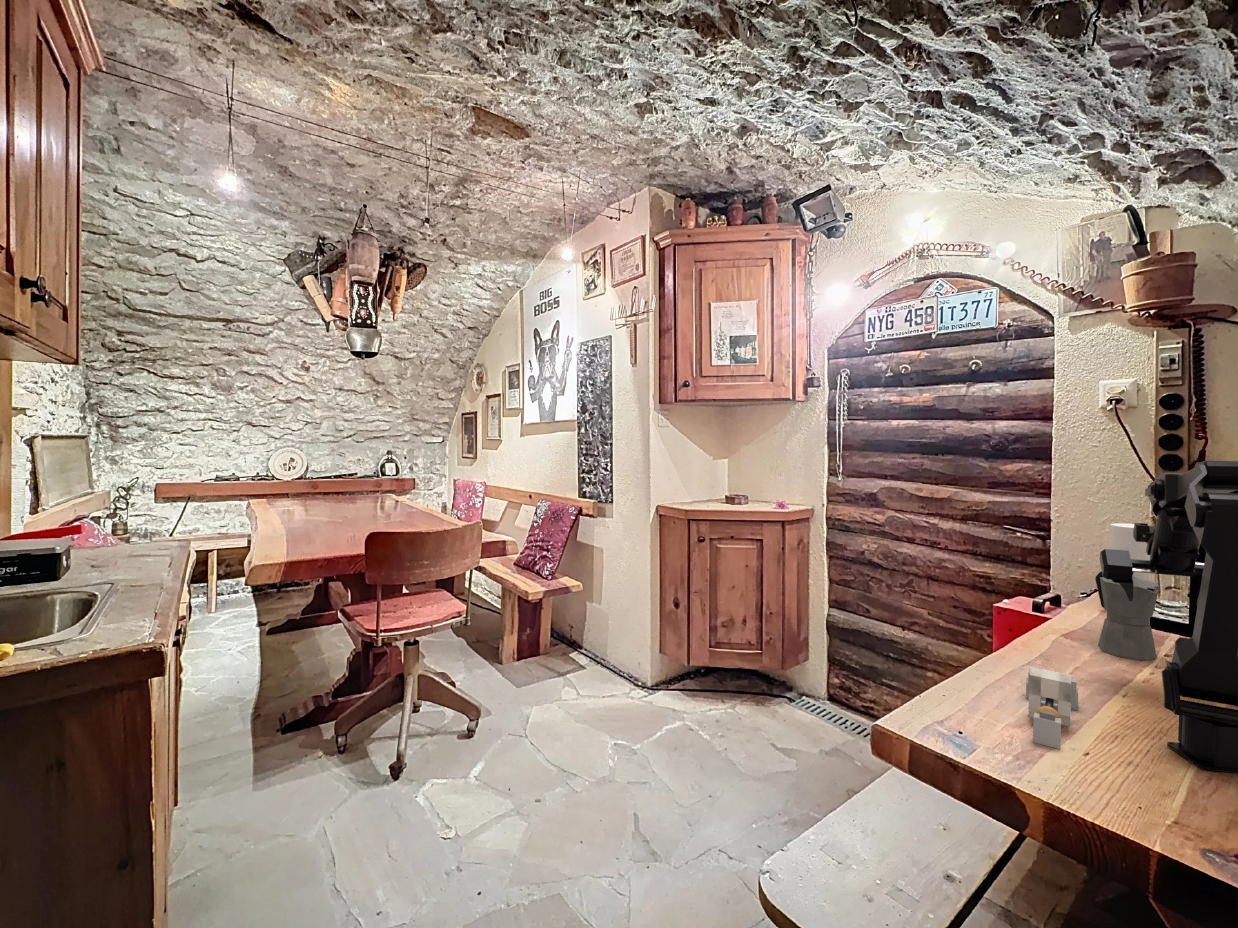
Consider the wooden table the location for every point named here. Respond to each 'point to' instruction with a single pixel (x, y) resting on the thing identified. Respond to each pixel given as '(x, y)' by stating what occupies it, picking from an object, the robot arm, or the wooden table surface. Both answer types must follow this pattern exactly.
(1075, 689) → the cord rig
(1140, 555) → the cylindrical container
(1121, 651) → the coffeepot
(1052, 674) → the sleeve
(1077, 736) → the wooden table surface
